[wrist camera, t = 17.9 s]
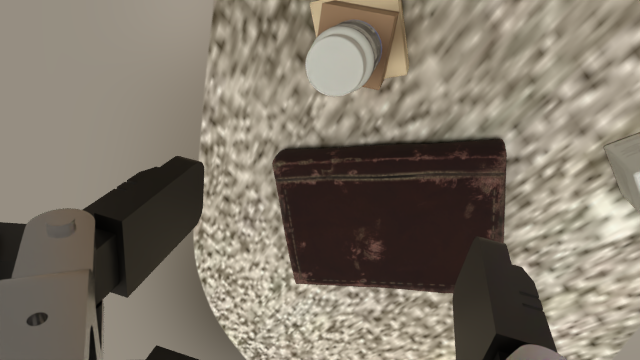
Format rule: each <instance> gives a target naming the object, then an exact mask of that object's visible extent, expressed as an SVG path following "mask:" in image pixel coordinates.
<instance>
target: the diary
mask: <svg viewBox="0 0 640 360" xmlns="http://www.w3.org/2000/svg"><path fill="white" fill-rule="evenodd" d="M506 156H507V155H506V149H505V144H504V141H503V140H502V139H497V140H480V141H464V142H448V143H428V144H392V145H370V146H356V147H341V148H318V149H285V150H282V151H280V152H279V153H278V154H277V155H276V157H275V159H274V160H273V164H272V165H273V170H274V175H275V179H276V185H277V191H278V196H279V202H280V208H281V214H282V220H283V225H284V231H285V236H286V241H287V246H288V252H289V257H290V261H291V266H292V270H293V275H294V279H295V282H296V284H315V285H336V286H358V287H381V288H396V289H407V290H417V291H428V292H438V293H454V288H455V284H456V281H457V278H458V276H459V273H460V271H461V269H462V266H463V264H464V261H465V259H466V256H467V254H468V252H469V249H470V247H471V244H472V242H473V240H474V239H475V238H476V237H482V238H485V239H489V240H493V241H497V242H500V243H503V242H504V214H505V183H506Z"/></svg>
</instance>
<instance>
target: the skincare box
mask: <svg viewBox="0 0 640 360" xmlns="http://www.w3.org/2000/svg"><path fill="white" fill-rule="evenodd" d="M604 149H605V152H606V154H607V157H608V159H609V162H610V165H611V167H612V170H613V173H614V175H615V178H616V181H617V183H618V186H619V189H620V191H621V194H622V195H623V196H624V197H625V198H626V199H627V200H628V201H629V202H630V204H631V205H632V206H633V207H634V208H635V209H636V210H637V211H638V212H639V213H640V133H638V134H636V135H633V136H630V137H627V138H625V139H622V140H619V141H617V142H614V143H611V144H609V145H606V146H604Z"/></svg>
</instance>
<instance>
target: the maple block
mask: <svg viewBox="0 0 640 360" xmlns="http://www.w3.org/2000/svg"><path fill="white" fill-rule="evenodd" d="M328 1H333V0H320V1H315V2H311V3H310V8H311V13H312V18H313V23H314V28H315V33H316V38H317V36H318V29H319V22H320V15H321V8H322V3H324V2H328ZM337 1H343V2H348V3H354V4H359V5H364V6H370V7H375V8H381V9H386V10H392V11H397V12H399V16H398V20H397V25H396V29H395V34H394V38H393V43H392V47H391V52H390V56H389V61H388V65H387V70H386V74H385V78H390V77H397V76H403V75H407V72H408V68H409V59H408V51H407V42H406V34H405V25H404V16H403V8H402V0H337Z"/></svg>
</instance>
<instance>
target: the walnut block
mask: <svg viewBox="0 0 640 360" xmlns="http://www.w3.org/2000/svg"><path fill="white" fill-rule="evenodd" d="M398 16H399V12H397V11H392V10H386V9H381V8H375V7H370V6H364V5H359V4H354V3H348V2H343V1H337V0H333V1H328V2H324V3H322V8H321V15H320V22H319V29H318V36H319V35H320V34H321V33H322V32H324V31H326V30H327V29H329V28H331V27H333V26H336V25H337V24H340V23H341V22H344V21H347V20H361V21H364V22H366V23H368V24H370V25H371V26H372V27H373V28H374V29H375V30H376V31H377V33H378V35H379V37H380V39H381V43H382V54H381V58H380V61H379V63H378V65H377V66H376V68H375V69H374V71H373V73H372V75H371V76H370V78H369V79H368V81H367V82H366V83H365V84H364V85H363V86H362V87H367V88H371V89H376V90H379V89H380V87H381V85H382V83H383V80H384V78H385V74H386V70H387V65H388V61H389V56H390V52H391V47H392V43H393V38H394V34H395V29H396V25H397V20H398ZM318 36H317V37H318Z"/></svg>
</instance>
